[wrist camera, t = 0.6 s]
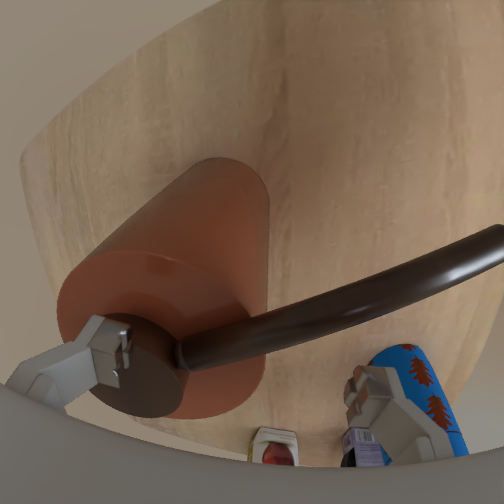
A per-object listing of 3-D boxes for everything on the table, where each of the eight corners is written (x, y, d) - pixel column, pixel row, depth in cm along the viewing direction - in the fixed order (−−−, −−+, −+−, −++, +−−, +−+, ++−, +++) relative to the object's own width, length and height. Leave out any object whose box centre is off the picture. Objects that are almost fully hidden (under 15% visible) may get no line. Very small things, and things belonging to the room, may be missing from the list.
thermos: (379, 339, 43) (429, 492, 21) (436, 345, 44) (496, 474, 21) (353, 388, 48) (378, 526, 25) (406, 391, 48) (444, 513, 26)
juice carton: (286, 448, 57) (286, 529, 40) (245, 442, 56) (238, 525, 39) (300, 430, 54) (304, 519, 37) (257, 423, 53) (251, 515, 36)
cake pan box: (334, 438, 55) (343, 515, 39) (345, 425, 53) (357, 506, 37) (410, 440, 56) (427, 505, 40) (422, 427, 54) (443, 495, 38)
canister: (157, 182, 36) (23, 293, 14) (245, 141, 33) (195, 208, 12) (199, 262, 40) (134, 426, 18) (284, 230, 37) (297, 399, 16)
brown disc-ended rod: (495, 169, 10) (521, 181, 8) (502, 280, 12) (521, 300, 10) (68, 327, 15) (52, 348, 13) (128, 398, 17) (118, 421, 15)
